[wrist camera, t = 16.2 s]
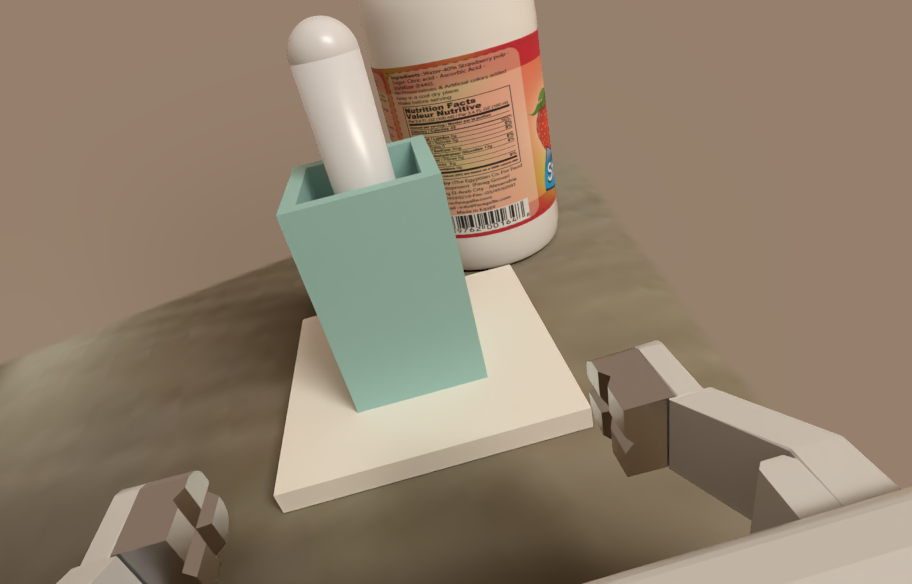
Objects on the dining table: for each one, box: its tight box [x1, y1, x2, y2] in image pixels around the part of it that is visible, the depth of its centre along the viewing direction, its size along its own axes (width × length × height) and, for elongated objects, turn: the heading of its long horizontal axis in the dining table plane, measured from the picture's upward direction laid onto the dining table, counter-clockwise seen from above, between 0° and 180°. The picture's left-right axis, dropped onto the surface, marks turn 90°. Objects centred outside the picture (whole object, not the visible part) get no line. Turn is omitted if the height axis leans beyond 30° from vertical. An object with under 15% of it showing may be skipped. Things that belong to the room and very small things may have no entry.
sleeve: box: [276, 135, 488, 413], centre depth 22 cm, size 6×6×9 cm
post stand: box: [274, 16, 593, 513], centre depth 21 cm, size 12×12×15 cm
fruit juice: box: [359, 0, 558, 270], centre depth 28 cm, size 9×9×28 cm
